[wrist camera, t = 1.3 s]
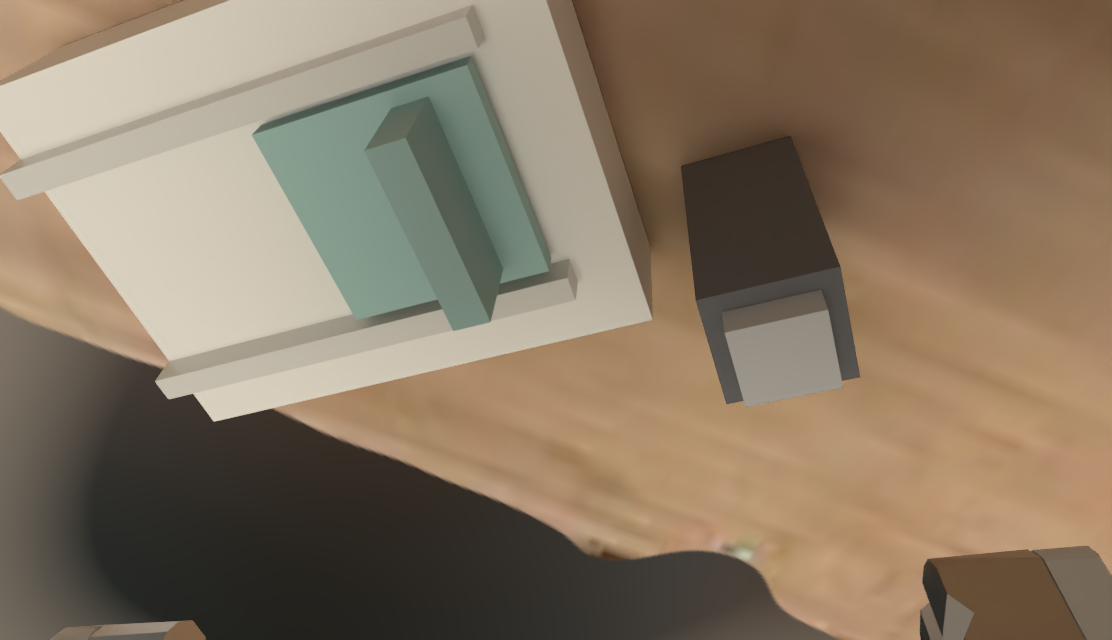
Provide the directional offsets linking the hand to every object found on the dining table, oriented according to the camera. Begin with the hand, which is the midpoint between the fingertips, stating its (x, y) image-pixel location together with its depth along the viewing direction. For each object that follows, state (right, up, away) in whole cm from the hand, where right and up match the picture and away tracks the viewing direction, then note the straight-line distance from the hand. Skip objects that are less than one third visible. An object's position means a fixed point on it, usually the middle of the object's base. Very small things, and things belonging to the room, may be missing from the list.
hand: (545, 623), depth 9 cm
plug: (+7, +8, +23) cm, 25 cm away
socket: (-7, +10, +23) cm, 25 cm away
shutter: (-5, +7, +18) cm, 19 cm away
